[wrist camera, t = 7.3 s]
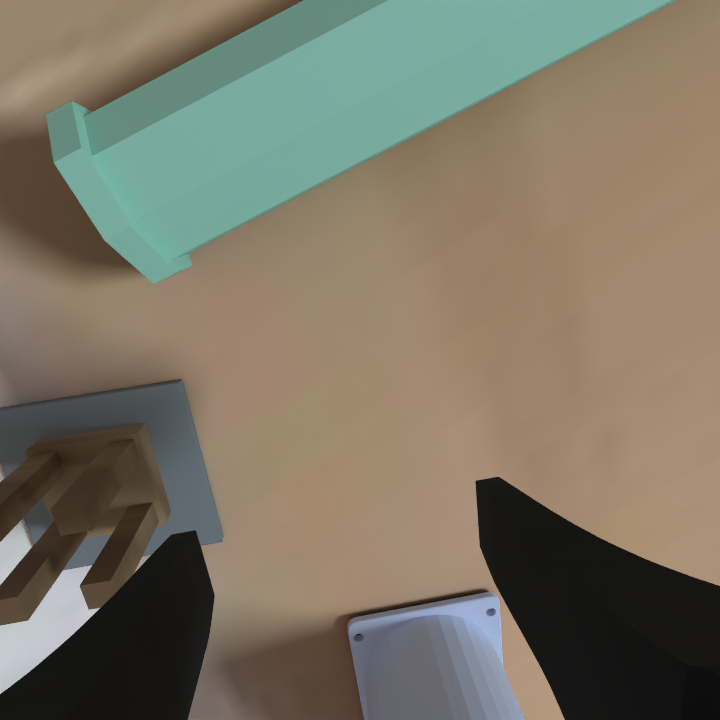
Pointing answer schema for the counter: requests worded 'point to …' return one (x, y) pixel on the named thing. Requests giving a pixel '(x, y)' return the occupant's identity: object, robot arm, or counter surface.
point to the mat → (112, 410)
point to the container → (300, 109)
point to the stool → (82, 512)
